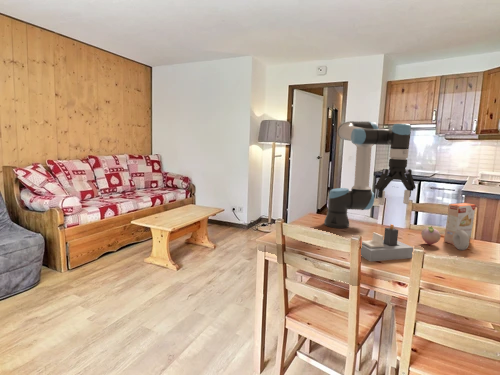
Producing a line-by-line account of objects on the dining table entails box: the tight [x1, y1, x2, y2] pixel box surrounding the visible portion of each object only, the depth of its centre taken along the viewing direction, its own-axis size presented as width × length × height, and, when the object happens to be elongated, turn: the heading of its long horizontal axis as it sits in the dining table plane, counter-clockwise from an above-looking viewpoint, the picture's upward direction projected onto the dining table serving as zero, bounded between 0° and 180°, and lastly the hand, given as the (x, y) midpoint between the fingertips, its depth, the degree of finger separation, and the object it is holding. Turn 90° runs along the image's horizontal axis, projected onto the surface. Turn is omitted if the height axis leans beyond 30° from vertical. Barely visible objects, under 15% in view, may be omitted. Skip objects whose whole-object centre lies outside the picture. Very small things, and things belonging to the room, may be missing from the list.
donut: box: [453, 230, 470, 251], centre depth 148 cm, size 10×3×10 cm, turn 174°
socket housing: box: [361, 239, 414, 262], centre depth 138 cm, size 12×22×5 cm, turn 104°
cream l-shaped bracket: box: [361, 231, 384, 248], centre depth 136 cm, size 7×7×5 cm
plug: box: [383, 223, 399, 246], centre depth 139 cm, size 4×4×12 cm
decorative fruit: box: [421, 225, 441, 246], centre depth 154 cm, size 9×8×10 cm
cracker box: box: [443, 202, 477, 246], centre depth 159 cm, size 14×6×21 cm, turn 114°
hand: (393, 204), depth 139 cm, fingers open, 13 cm apart
